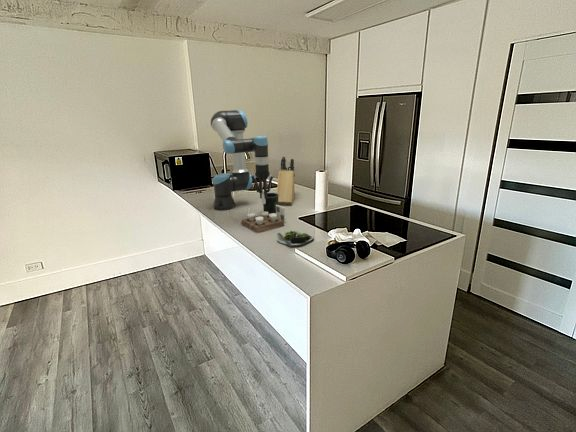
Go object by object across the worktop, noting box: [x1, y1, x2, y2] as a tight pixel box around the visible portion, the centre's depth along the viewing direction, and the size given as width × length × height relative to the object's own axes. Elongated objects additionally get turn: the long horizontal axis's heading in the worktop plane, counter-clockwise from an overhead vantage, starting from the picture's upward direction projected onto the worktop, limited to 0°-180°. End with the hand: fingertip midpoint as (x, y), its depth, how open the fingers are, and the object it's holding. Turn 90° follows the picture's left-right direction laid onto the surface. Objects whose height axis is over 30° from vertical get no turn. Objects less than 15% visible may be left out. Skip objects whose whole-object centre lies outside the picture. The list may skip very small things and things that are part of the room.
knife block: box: [276, 156, 296, 206], centre depth 231 cm, size 11×35×31 cm, turn 174°
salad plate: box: [276, 230, 314, 248], centre depth 160 cm, size 19×18×5 cm
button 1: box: [247, 212, 256, 222], centre depth 183 cm, size 4×4×5 cm
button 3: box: [260, 211, 268, 219], centre depth 188 cm, size 4×4×5 cm
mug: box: [262, 192, 280, 214], centre depth 206 cm, size 11×15×12 cm
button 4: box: [269, 213, 277, 222], centre depth 181 cm, size 4×4×5 cm
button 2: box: [256, 215, 264, 226], centre depth 176 cm, size 4×4×5 cm
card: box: [276, 204, 287, 223], centre depth 190 cm, size 9×4×9 cm, turn 36°
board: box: [241, 214, 285, 234], centre depth 183 cm, size 18×18×3 cm
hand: (263, 203), depth 186 cm, fingers closed
